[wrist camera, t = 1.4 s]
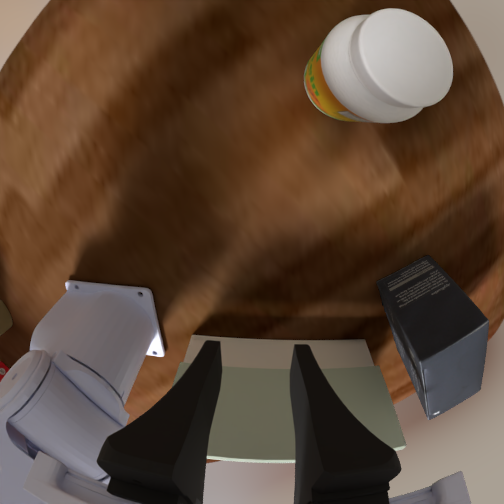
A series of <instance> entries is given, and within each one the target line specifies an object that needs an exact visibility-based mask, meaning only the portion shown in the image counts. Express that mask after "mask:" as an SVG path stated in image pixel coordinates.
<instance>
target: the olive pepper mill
mask: <svg viewBox="0 0 504 504" xmlns="http://www.w3.org/2000/svg"><path fill="white" fill-rule="evenodd" d="M12 323H13V322H12V318H11V315H10V313H9V311H8V309H7V307H6V306H5V304H4V303H3V302H2V300H1V299H0V336H1V335H2V334H3V333H4V332H6V331H7V330H8V329H9V328H10V327H11V326H12Z"/></svg>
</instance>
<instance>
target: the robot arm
mask: <svg viewBox="0 0 504 504" xmlns="http://www.w3.org/2000/svg"><path fill="white" fill-rule="evenodd" d="M65 285H66V288H67V292H66V293H65V294H64V295H63V296H62V297H61V298H60V300H59V301H58V302H57V303H56V304H55V305H54V306H53V307H52V308H51V310H50V311H49V312H48V313H47V314H46V315H45V316H44V317H43V319H42V320H41V321H40V322H39V323H38V325H37V326H36V328H35V330H34V332H33V335H32V338H31V343H30V351H29V352H27V353H26V354H25V355H23V356H22V357H21V358H20V359H19V360H18V361H17V362H16V363H15V364H14V365H13V366H12V367H11V368H10V370H9V371H8V372H7V373H6V375H5V376H4V377H3V379H2V380H1V382H0V504H203V492H204V491H203V490H204V479H205V469H206V459H207V451H208V443H209V435H210V430H211V426H212V421H213V417H214V413H215V409H216V405H217V401H218V397H219V393H220V387H221V379H222V357H221V344H220V341H213V340H206V341H205V342H204V344H203V346H202V348H201V349H200V351H199V353H198V354H197V356H196V357H195V359H194V360H193V362H192V363H191V364H190V366H189V367H188V369H187V370H186V371H185V373H184V374H183V375H182V376H181V378H180V379H179V380H178V381H177V382H176V384H175V385H174V386H173V387H172V388H171V389H170V390H169V391H168V392H167V393H166V395H165V396H163V397H162V398H161V399H160V400H159V401H158V402H157V403H156V404H155V405H154V406H153V407H151V408H150V409H149V410H148V411H147V412H145V413H144V414H143V415H141V416H140V417H139V418H137V419H136V420H134V421H133V422H131V423H130V424H129V425H127V426H126V423H127V421H128V418H129V414H128V413H127V412H126V411H125V410H124V405H125V403H126V400H127V398H128V395H129V393H130V391H131V388H132V386H133V384H134V381H135V379H136V377H137V374H138V372H139V370H140V367H141V365H142V363H143V360H144V358H145V356H146V355H152V356H159V357H163V356H164V355H165V349H164V345H163V341H162V337H161V333H160V328H159V324H158V319H157V314H156V310H155V305H154V300H153V295H152V291H151V290H150V289H148V288H142V287H131V286H120V285H110V284H100V283H91V282H82V281H73V280H68V281H67V282H66V284H65ZM139 292H141V293H142V294H143V295H142V294H140V293H139ZM155 351H156V352H155ZM290 398H291V406H292V414H293V422H294V430H295V492H294V504H471V501H470V497H469V494H468V490H467V487H466V483H465V480H464V476H463V473H462V471H459V472H457V473H455V474H452V475H450V476H447V477H445V478H442V479H440V480H438V481H437V482H435V483H434V484H432V486H429V487H426V488H423V489H421V490H417V491H414V492H411V493H408V494H404V495H401V496H397V497H393V498H388V492H387V491H388V490H389V489H390V487H389V481H390V480H392V479H393V478H395V477H396V476H397V475H398V474H399V473H400V471H401V465H400V461H399V458H398V456H397V454H396V451H395V450H394V449H393V448H391V447H390V446H388V445H387V444H385V443H384V442H383V441H381V440H380V439H379V438H378V437H376V436H375V435H374V434H373V433H372V432H370V431H369V430H368V429H367V428H366V427H365V426H364V425H363V424H362V423H361V422H360V421H359V420H358V419H357V418H356V417H355V416H354V415H353V414H352V413H351V412H350V411H349V409H348V408H347V407H346V406H345V405H344V403H343V402H342V401H341V399H340V398H339V397H338V395H337V394H336V393H335V391H334V390H333V388H332V387H331V385H330V384H329V382H328V381H327V379H326V377H325V375H324V374H323V372H322V370H321V369H320V367H319V365H318V363H317V361H316V359H315V357H314V355H313V353H312V350H311V348H310V346H309V345H308V344H294V349H293V356H292V362H291V368H290Z"/></svg>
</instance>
